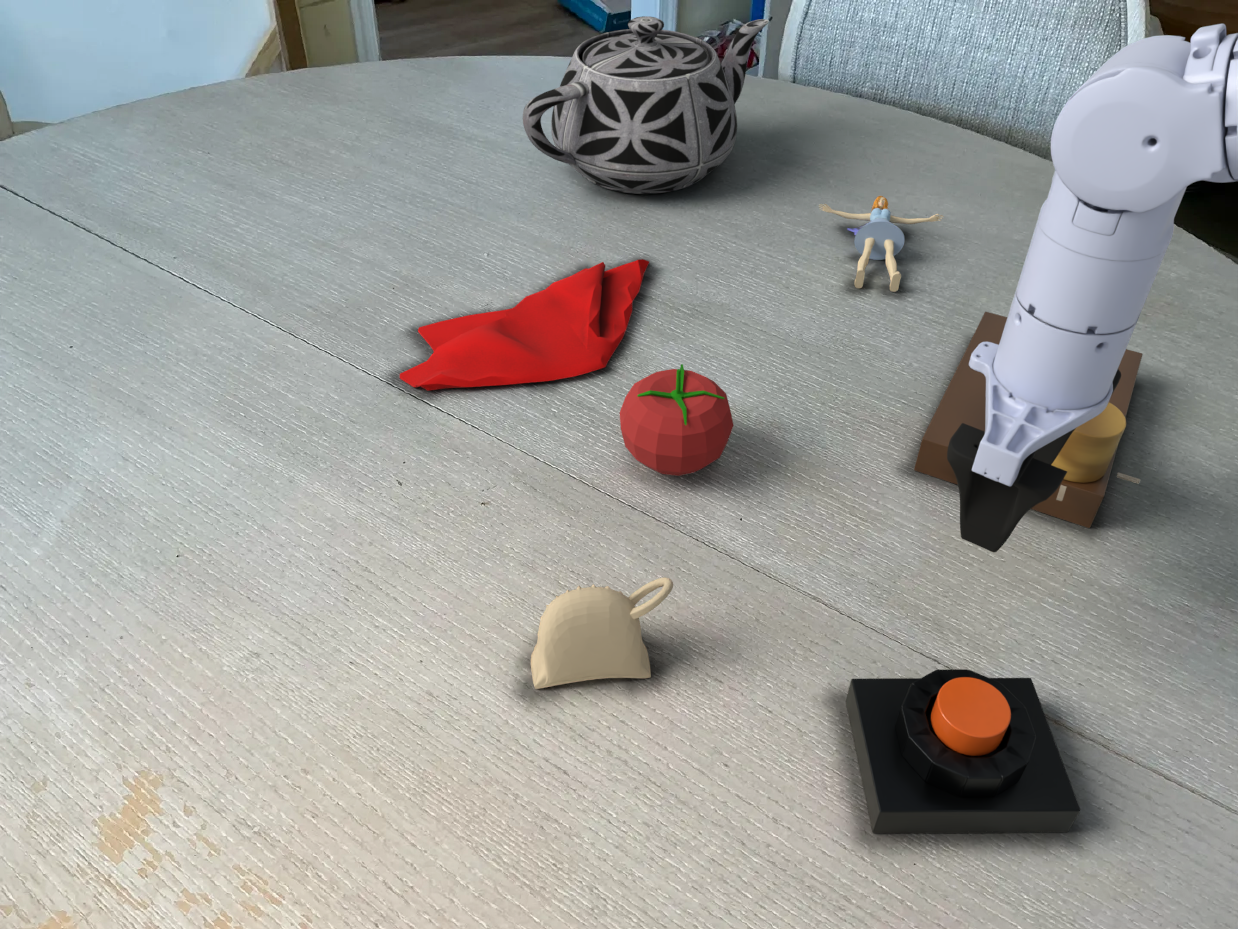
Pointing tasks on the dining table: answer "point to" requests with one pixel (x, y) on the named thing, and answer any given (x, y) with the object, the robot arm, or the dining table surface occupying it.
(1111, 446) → the knob
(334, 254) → the dining table surface
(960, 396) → the knob panel
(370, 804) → the dining table surface
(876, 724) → the button box
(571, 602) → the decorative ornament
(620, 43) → the teapot
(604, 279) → the cloth
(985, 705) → the button
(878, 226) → the fairy figurine
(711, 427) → the tomato
